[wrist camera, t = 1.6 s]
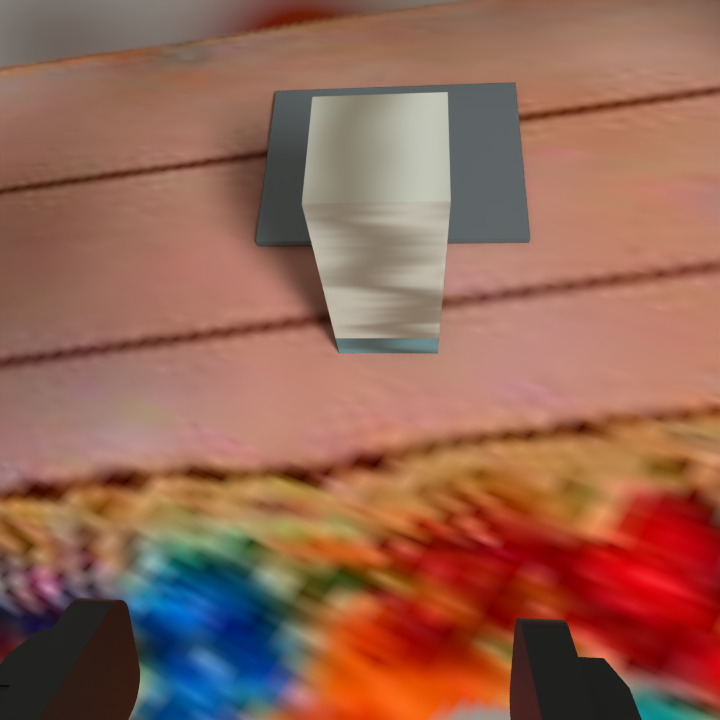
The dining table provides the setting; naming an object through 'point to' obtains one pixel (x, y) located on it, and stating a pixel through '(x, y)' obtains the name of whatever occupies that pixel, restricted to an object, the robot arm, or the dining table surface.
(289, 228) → the mat
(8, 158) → the dining table surface
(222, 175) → the dining table surface
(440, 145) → the block
